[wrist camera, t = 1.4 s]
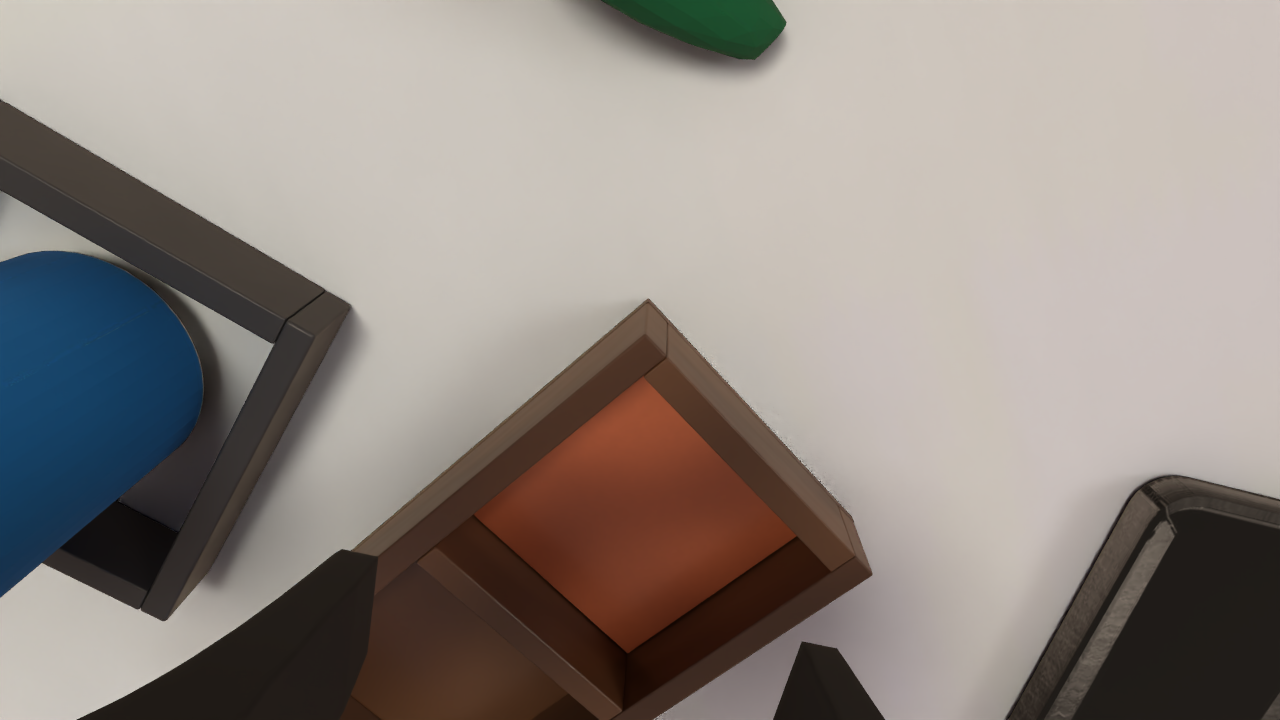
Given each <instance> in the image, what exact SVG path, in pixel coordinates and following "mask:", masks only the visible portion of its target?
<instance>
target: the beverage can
mask: <svg viewBox="0 0 1280 720" xmlns="http://www.w3.org/2000/svg"><path fill="white" fill-rule="evenodd" d="M203 394H204V382H203V372H202V368H201V363H200V359H199V356H198V353H197V351H196V348H195V345H194V343H193V341H192V339H191V337H190V335H189V333H188V331H187V329H186V328H185V326H184V325H183V323H182V322H181V320H180V319H179V317H178V316H177V315H176V313H175V312H174V311H173V310H172V309H171V308H170V306H169V305H168V304H167V303H166V302H165V301H164V300H163V299H162V298H161V297H160V296H159V295H158V294H157V293H156V292H155V291H154V290H153V289H151V288H150V287H149V286H147V285H146V284H145V283H144V282H142V281H141V280H140V279H138V278H136V277H135V276H133V275H132V274H130V273H129V272H127V271H125V270H123V269H121V268H119V267H117V266H115V265H113V264H111V263H109V262H106V261H103V260H101V259H98V258H95V257H92V256H88V255H84V254H80V253H74V252H65V251H41V252H34V253H28V254H25V255H21V256H18V257H15V258H12V259H9V260H6V261H3V262H0V598H1V597H2V596H3V595H4V594H5V593H7V592H8V591H9V590H10V589H11V588H12V587H14V586H15V585H16V584H17V583H18V582H20V581H21V580H22V579H23V578H24V577H25V576H27V575H28V574H29V573H30V572H31V571H33V570H34V569H35V568H36V567H37V566H39V565H40V564H41V563H42V562H43V561H44V560H46V559H47V558H48V557H49V556H50V555H52V554H53V553H54V552H55V551H56V550H57V549H59V548H60V547H61V546H62V545H63V544H65V543H66V542H67V541H68V540H69V539H71V538H72V537H73V536H74V535H75V534H76V533H78V532H79V531H80V530H81V529H82V528H84V527H85V526H86V525H87V524H88V523H89V522H91V521H92V520H93V519H94V518H95V517H97V516H98V515H99V514H100V513H101V512H103V511H104V510H105V509H106V508H107V507H108V506H110V505H111V504H112V503H113V502H114V501H116V500H117V499H118V498H119V497H120V496H121V495H123V494H124V493H125V492H126V491H127V490H129V489H130V488H131V487H132V486H133V485H134V484H136V483H137V482H138V481H139V480H140V479H142V478H143V477H144V476H145V475H146V474H148V473H149V472H150V471H151V470H152V469H153V468H155V467H156V466H157V465H158V464H159V463H161V462H162V461H163V460H164V459H165V458H166V457H168V456H169V455H170V454H171V453H172V452H174V451H175V450H176V449H177V448H178V447H179V446H181V445H182V444H183V442H184V441H185V440H186V439H187V438H188V436H189V435H190V433H191V432H192V430H193V428H194V427H195V425H196V423H197V420H198V418H199V415H200V412H201V408H202V403H203Z"/></svg>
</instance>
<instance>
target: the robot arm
mask: <svg viewBox="0 0 1280 720" xmlns="http://www.w3.org/2000/svg"><path fill="white" fill-rule="evenodd" d="M377 565H378V556H373V555H368V554H363V553H358V552H353V551H348V550H343V549H341V550H340V551H338V552H336V553H335V554H333V555H332V556H331V557H330V558H328V559H327V560H326V561H325V562H323V563H322V564H321V565H320V566H318V567H317V568H316V569H315V570H313V571H312V572H311V573H310V574H308V575H307V576H306V577H305V578H303V579H302V580H301V581H300V582H298V583H297V584H296V585H295V586H293V587H292V588H291V589H289V590H288V591H287V592H285V593H284V594H283V595H282V596H280V597H279V598H278V599H276V600H275V601H274V602H272V603H271V604H269V605H268V606H267V607H265V608H264V609H263V610H261V611H260V612H258V613H257V614H256V615H254V616H253V617H252V618H250V619H249V620H248V621H246V622H245V623H243V624H242V625H241V626H239V627H238V628H236V629H235V630H233V631H232V632H230V633H229V634H227V635H226V636H224V637H223V638H221V639H220V640H218V641H217V642H215V643H214V644H212V645H211V646H209V647H208V648H206V649H205V650H203V651H201V652H200V653H198V654H197V655H195V656H194V657H192V658H191V659H189V660H187V661H186V662H184V663H182V664H181V665H179V666H178V667H176V668H174V669H173V670H171V671H169V672H168V673H166V674H164V675H162V676H161V677H159V678H157V679H155V680H154V681H152V682H150V683H148V684H146V685H145V686H143V687H141V688H139V689H137V690H136V691H134V692H132V693H130V694H128V695H126V696H125V697H123V698H121V699H119V700H117V701H115V702H113V703H111V704H109V705H106V706H104V707H102V708H100V709H98V710H96V711H94V712H92V713H90V714H88V715H86V716H83V717H81V718H79V719H77V720H339V719H340V717H341V716H342V714H343V712H344V710H345V707H346V705H347V702H348V700H349V698H350V695H351V693H352V690H353V688H354V686H355V683H356V681H357V678H358V675H359V673H360V670H361V668H362V665H363V663H364V660H365V658H366V655H367V652H368V644H369V635H370V626H371V617H372V609H373V600H374V591H375V583H376V574H377ZM773 720H885V719H884V717H883V716H882V714H881V713H880V712H879V710H878V709H877V707H876V706H875V704H874V703H873V701H872V700H871V698H870V697H869V695H868V694H867V692H866V691H865V689H864V688H863V686H862V685H861V683H860V682H859V680H858V679H857V677H856V676H855V674H854V673H853V671H852V670H851V668H850V667H849V665H848V664H847V662H846V661H845V659H844V658H843V657H842V655H841V654H840V652H839V651H838V649H837V648H832V647H827V646H822V645H817V644H812V643H807V642H802V643H801V645H800V648H799V651H798V653H797V656H796V659H795V662H794V664H793V667H792V670H791V672H790V675H789V678H788V681H787V683H786V686H785V689H784V691H783V694H782V697H781V700H780V702H779V705H778V708H777V710H776V713H775V716H774V719H773Z"/></svg>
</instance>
